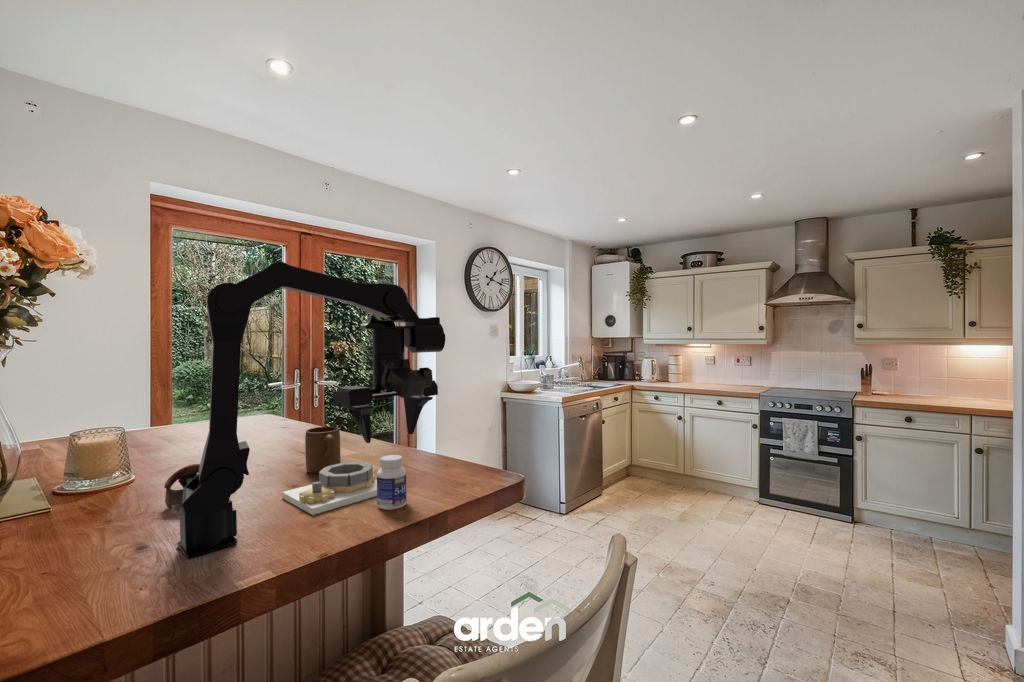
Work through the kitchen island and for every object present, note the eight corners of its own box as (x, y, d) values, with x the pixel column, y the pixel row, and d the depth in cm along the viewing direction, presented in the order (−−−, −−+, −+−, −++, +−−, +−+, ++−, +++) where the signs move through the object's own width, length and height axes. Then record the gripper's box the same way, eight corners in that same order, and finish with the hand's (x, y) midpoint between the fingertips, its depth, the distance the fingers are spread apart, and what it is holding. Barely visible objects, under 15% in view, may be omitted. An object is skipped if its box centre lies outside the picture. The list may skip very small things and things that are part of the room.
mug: (350, 474, 107) (349, 433, 107) (315, 481, 103) (314, 438, 103) (335, 462, 117) (334, 424, 117) (302, 468, 113) (301, 428, 113)
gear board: (311, 515, 84) (311, 490, 84) (281, 498, 93) (281, 475, 93) (390, 491, 96) (390, 469, 96) (357, 478, 104) (357, 458, 104)
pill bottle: (399, 511, 85) (398, 462, 85) (372, 509, 86) (371, 460, 86) (411, 500, 90) (410, 454, 90) (385, 499, 91) (384, 453, 91)
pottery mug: (239, 500, 94) (222, 470, 89) (189, 535, 87) (168, 505, 83) (212, 474, 100) (194, 446, 96) (163, 505, 94) (142, 476, 90)
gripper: (366, 357, 75) (368, 455, 76) (456, 352, 89) (457, 435, 90) (332, 355, 83) (334, 445, 83) (419, 351, 97) (421, 428, 97)
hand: (390, 438), depth 88 cm, fingers open, 9 cm apart
